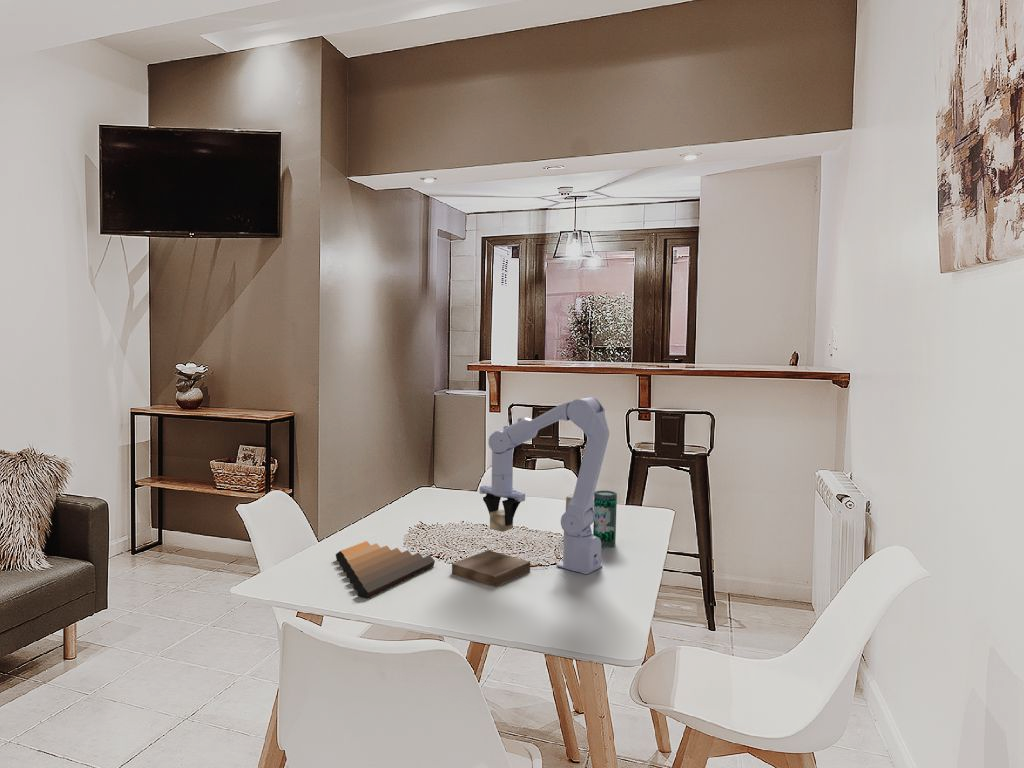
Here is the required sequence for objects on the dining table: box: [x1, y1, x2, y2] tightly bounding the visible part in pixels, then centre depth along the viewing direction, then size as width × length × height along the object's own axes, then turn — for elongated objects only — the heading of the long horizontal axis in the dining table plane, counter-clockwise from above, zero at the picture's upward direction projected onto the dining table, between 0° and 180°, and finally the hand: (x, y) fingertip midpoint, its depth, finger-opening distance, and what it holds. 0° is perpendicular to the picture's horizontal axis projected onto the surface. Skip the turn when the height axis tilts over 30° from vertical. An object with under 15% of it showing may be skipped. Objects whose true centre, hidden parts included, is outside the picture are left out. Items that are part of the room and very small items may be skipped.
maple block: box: [489, 509, 514, 533], centre depth 182 cm, size 4×4×4 cm
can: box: [592, 490, 618, 548], centre depth 192 cm, size 6×6×15 cm
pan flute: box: [335, 540, 436, 600], centre depth 167 cm, size 25×3×25 cm
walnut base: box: [451, 549, 531, 588], centre depth 168 cm, size 14×14×2 cm
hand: (501, 523), depth 182 cm, fingers closed on maple block, 4 cm apart
